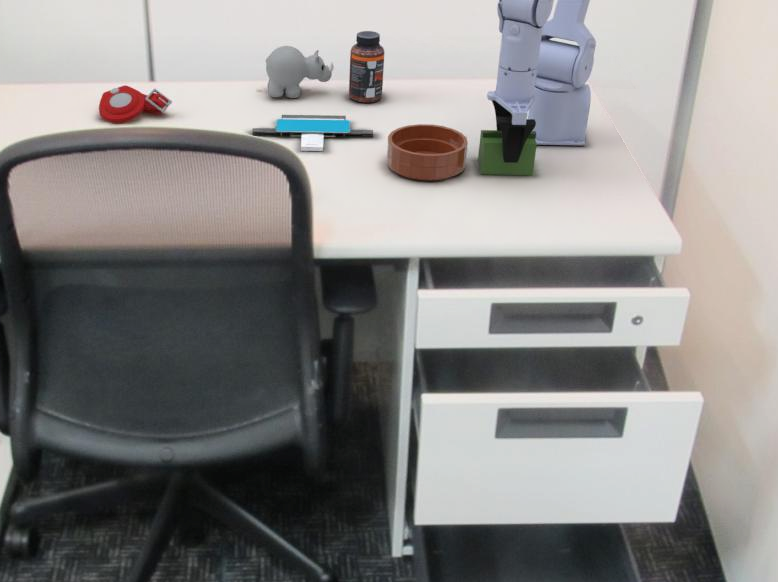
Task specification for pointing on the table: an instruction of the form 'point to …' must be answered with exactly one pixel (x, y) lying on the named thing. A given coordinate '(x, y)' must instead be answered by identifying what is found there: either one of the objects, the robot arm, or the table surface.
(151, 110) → the tracker holder
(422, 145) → the bowl
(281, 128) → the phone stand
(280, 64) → the round bodied animal figurine
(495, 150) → the green block
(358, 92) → the supplement bottle
